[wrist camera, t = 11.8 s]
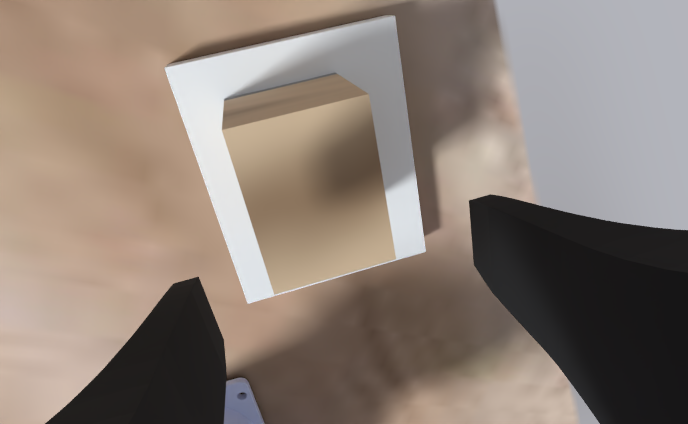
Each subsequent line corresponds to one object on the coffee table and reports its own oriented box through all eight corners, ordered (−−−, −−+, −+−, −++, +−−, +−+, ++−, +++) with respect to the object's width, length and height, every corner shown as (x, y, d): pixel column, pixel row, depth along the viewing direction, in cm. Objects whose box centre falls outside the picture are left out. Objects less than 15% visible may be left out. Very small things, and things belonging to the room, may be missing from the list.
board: (417, 240, 24) (425, 251, 23) (247, 289, 23) (247, 303, 22) (385, 15, 19) (394, 15, 18) (168, 63, 18) (164, 67, 17)
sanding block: (361, 205, 21) (396, 259, 17) (264, 231, 20) (274, 294, 16) (335, 72, 18) (368, 94, 14) (223, 99, 18) (221, 129, 13)
